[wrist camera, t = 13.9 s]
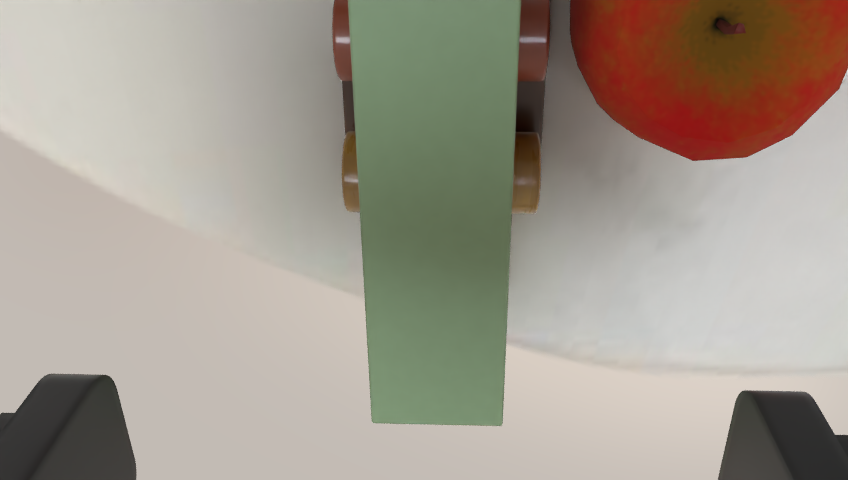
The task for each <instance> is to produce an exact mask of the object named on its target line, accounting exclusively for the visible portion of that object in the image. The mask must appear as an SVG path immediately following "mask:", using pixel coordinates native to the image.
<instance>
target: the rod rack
mask: <svg viewBox="0 0 848 480" xmlns="http://www.w3.org/2000/svg"><path fill="white" fill-rule="evenodd" d="M332 35H333V52H334V61H335V67H336V71H337V74H338V77H339V79H340V80H342V89H343V105H344V121H345V139H344V144H343V153H342V189H343V198H344V204H345V207H346V209H347V211H349V212H360V205H359V187H358V170H357V152H356V135H355V117H354V100H353V82H352V65H351V47H350V29H349V12H348V0H334V7H333V22H332ZM549 43H550V0H521V15H520V37H519V60H518V83H517V106H516V128H515V151H514V174H513V196H512V214H535V213H536V212H537V210H538V206H539V199H540V186H541V141H542V124H543V108H544V92H545V76H546V72H547V66H548V57H549Z"/></svg>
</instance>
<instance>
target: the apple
mask: <svg viewBox="0 0 848 480" xmlns="http://www.w3.org/2000/svg"><path fill="white" fill-rule="evenodd" d="M570 35H571V43H572V47H573V51H574V54H575V58H576V62H577V65H578V67H579V69H580V71H581V73H582V75H583V77H584V79H585V81H586V83H587V85H588V87H589V89H590V91H591V93H592V95H593V96H594V98H595V100H596V102H597V104H598V105H599V106H600V107H601V108H602V109H603V110H604V111H605V112H606V113H607V114H608V115H609V116H610V117H611V118H612V119H613V120H614V121H616V122H617V123H618V124H620V125H621V126H623V127H624V128H626V129H627V130H629V131H630V132H631V133H633V134H634V135H636V136H637V137H639V138H641V139H644V140H646V141H648V142H651V143H653V144H655V145H658V146H660V147H662V148H664V149H667V150H669V151H671V152H674V153H676V154H678V155H681V156H683V157H685V158H688V159H690V160H693V161H697V160H713V159H728V158H744V157H748V156H750V155H752V154H754V153H756V152H759V151H761V150H763V149H765V148H767V147H769V146H771V145H773V144H775V143H777V142H779V141H781V140H783V139H785V138H787V137H789V136H791V135H793V134H794V133H795V132H796V131H797V130H798V129H799V128H800V127H801V126H802V125H803V124H804V123H805V122H806V121H807V120H808V119H809V118H810V117H811V116H812V115H813V114H814V113H815V112H816V111H817V110H818V109H819V108H820V107H821V106H822V105H823V104H824V103H825V102H826V101H827V100H828V99H829V98H830V97H831V96H832V95H833V94H834V93H835V92H836V91H837V90H838V89H839V88H840V85H841V83H842V80H843V78H844V76H845V73H846V71H847V68H848V0H570Z"/></svg>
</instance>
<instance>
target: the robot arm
mask: <svg viewBox="0 0 848 480" xmlns="http://www.w3.org/2000/svg"><path fill="white" fill-rule="evenodd" d="M0 480H136V463H135V458H134V454H133V450H132V446H131V442H130V439H129V435H128V431H127V427H126V423H125V419H124V415H123V411H122V408H121V403H120V399H119V396H118V392H117V388H116V386H115V383H114V381H113V380H112V378H110V377H109V376H107V375H84V374H48V375H46V376H44V377H43V378H42V379H41V380H40V381H39V382H38V383H37V385H36V386H35V387H34V388H33V390H32V391H31V392H30V394H29V395H28V396H27V398H26V399H25V400H24V402H23V403H22V404H21V406H20V407H19V408H18V410H17V411H16V412H15V413H1V414H0ZM718 480H848V435H835V434H834V433H833V431H832V429H831V427H830V426H829V424H828V422H827V421H826V419H825V417H824V416H823V414H822V412H821V410H820V409H819V407H818V405H817V404H816V402H815V400H814V399H813V398H812V397H811V395H809V394H808V393H806V392H791V391H742V392H741V393H740V394H739V395H738V397H737V399H736V403H735V407H734V411H733V415H732V420H731V424H730V429H729V433H728V438H727V442H726V446H725V451H724V455H723V459H722V464H721V468H720V473H719V477H718Z"/></svg>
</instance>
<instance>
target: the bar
mask: <svg viewBox="0 0 848 480" xmlns="http://www.w3.org/2000/svg"><path fill="white" fill-rule="evenodd" d="M348 12H349V29H350V47H351V65H352V82H353V100H354V117H355V135H356V152H357V170H358V187H359V205H360V223H361V240H362V258H363V275H364V293H365V310H366V328H367V345H368V363H369V381H370V398H371V416H372V422H373V423H390V424H391V423H392V424H436V425H437V424H438V425H480V426H501V425H502V423H503V422H502V421H503V401H504V378H505V356H506V333H507V310H508V287H509V265H510V242H511V219H512V196H513V174H514V151H515V128H516V106H517V83H518V60H519V37H520V15H521V0H348Z"/></svg>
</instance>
